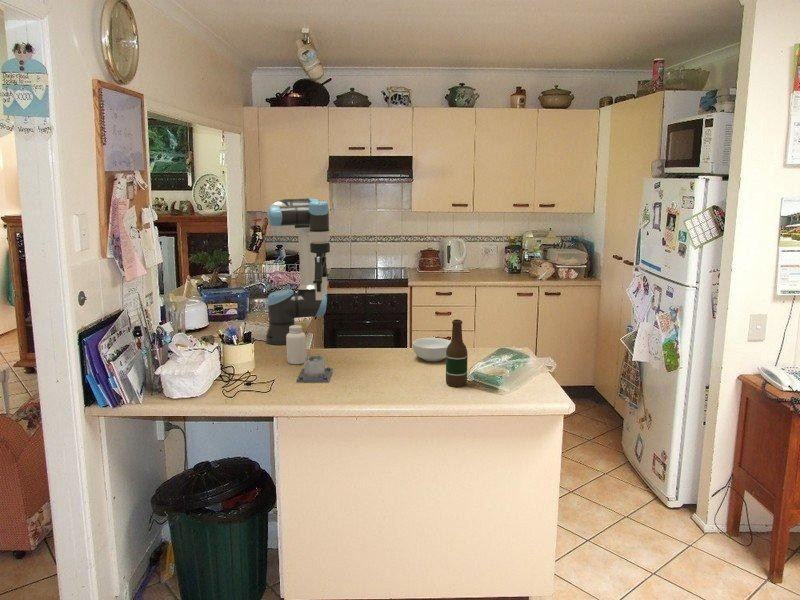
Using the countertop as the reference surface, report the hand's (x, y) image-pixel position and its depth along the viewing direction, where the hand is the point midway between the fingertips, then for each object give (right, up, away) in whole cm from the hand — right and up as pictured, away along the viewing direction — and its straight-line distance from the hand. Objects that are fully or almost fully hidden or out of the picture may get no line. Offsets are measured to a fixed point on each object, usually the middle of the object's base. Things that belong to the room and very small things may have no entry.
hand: (321, 296), depth 248 cm
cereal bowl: (+44, -26, +15) cm, 54 cm away
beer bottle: (+51, -32, -16) cm, 63 cm away
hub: (-2, -30, -6) cm, 30 cm away
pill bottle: (-12, -27, +13) cm, 32 cm away
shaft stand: (-2, -30, -6) cm, 31 cm away
